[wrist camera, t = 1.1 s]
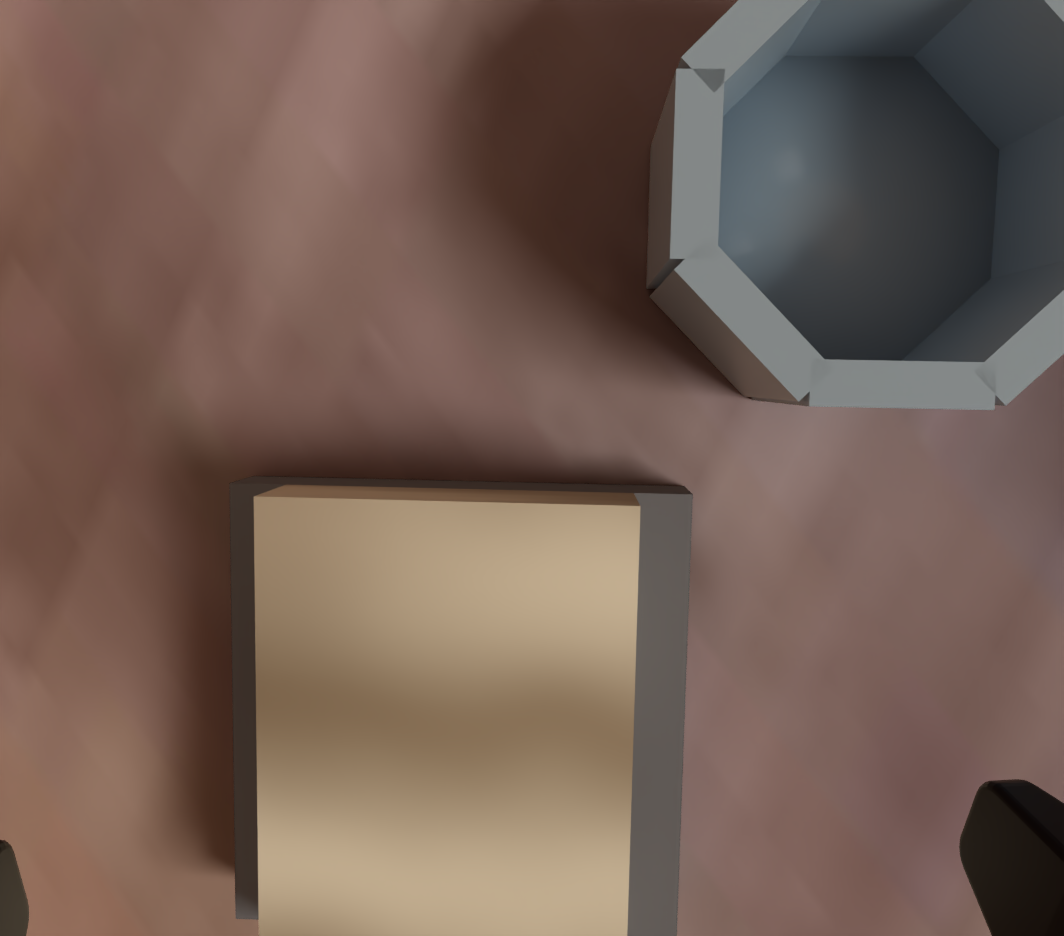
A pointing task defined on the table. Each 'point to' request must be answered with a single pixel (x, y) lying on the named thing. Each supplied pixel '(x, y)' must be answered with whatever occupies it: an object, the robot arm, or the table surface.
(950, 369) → the bowl
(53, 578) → the table surface
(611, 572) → the cover board
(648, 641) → the mat
